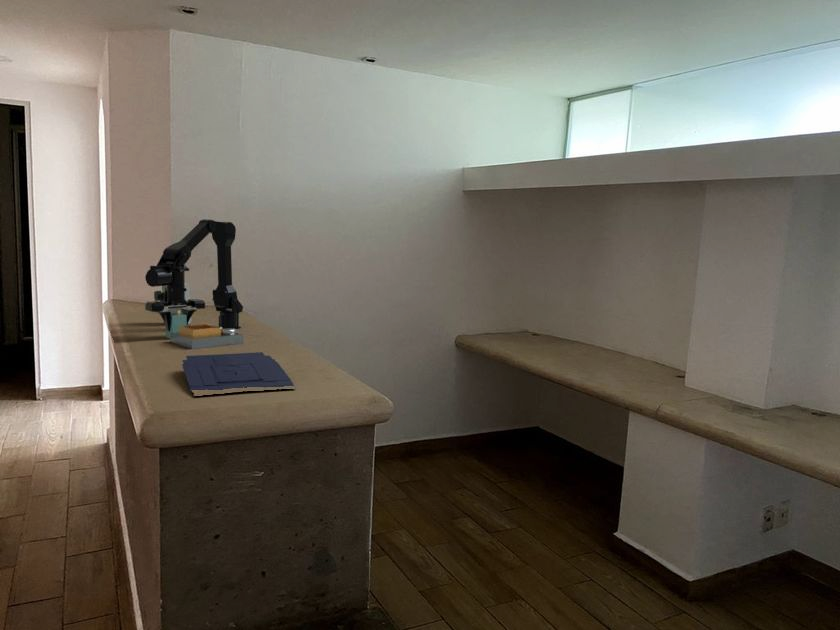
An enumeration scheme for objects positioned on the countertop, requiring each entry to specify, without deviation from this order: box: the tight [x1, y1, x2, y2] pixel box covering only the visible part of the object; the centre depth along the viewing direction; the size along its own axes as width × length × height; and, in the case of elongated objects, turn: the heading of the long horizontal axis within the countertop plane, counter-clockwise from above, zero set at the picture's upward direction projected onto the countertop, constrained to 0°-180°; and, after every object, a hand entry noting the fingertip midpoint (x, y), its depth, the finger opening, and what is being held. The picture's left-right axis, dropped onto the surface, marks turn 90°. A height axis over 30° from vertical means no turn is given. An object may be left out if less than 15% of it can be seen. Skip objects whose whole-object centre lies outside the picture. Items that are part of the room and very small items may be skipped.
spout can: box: [165, 310, 188, 340], centre depth 222 cm, size 5×5×10 cm
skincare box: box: [161, 282, 192, 325], centre depth 249 cm, size 8×7×16 cm
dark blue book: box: [181, 351, 295, 391], centre depth 167 cm, size 24×30×4 cm
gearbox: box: [170, 323, 244, 350], centre depth 215 cm, size 18×15×6 cm
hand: (176, 330), depth 222 cm, fingers closed on spout can, 5 cm apart
